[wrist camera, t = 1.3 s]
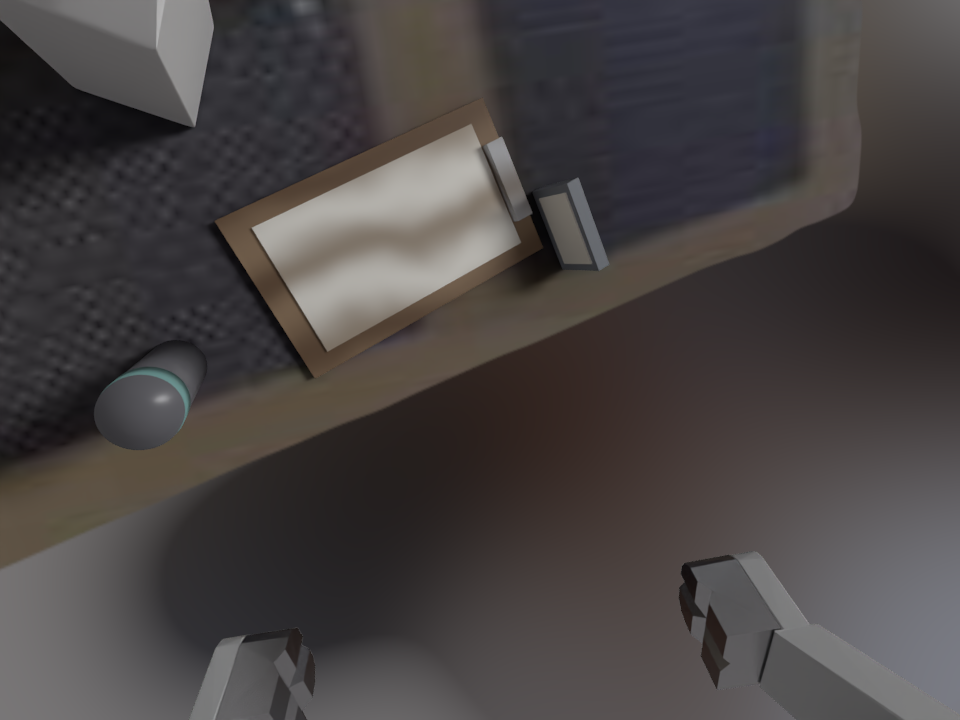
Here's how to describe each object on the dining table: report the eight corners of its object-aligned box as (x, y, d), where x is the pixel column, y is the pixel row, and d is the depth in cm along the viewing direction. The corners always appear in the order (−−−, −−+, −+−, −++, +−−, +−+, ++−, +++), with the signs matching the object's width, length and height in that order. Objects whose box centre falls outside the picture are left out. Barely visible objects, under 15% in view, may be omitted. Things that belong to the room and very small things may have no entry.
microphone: (133, 357, 37) (73, 402, 25) (186, 329, 38) (153, 361, 26) (167, 402, 39) (127, 465, 27) (219, 374, 40) (201, 423, 28)
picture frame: (530, 192, 47) (565, 184, 42) (542, 186, 47) (578, 177, 42) (561, 270, 50) (597, 271, 44) (571, 263, 50) (609, 264, 45)
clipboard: (215, 221, 38) (213, 220, 36) (479, 99, 44) (487, 94, 42) (314, 377, 42) (316, 381, 41) (540, 247, 49) (548, 247, 47)
